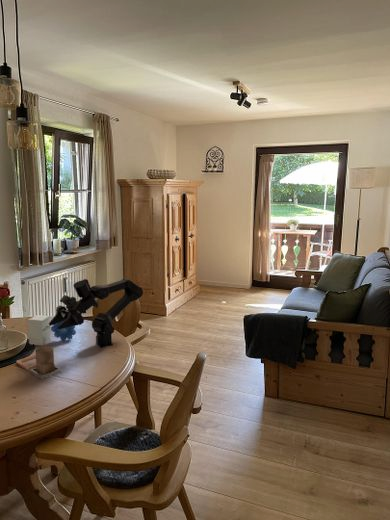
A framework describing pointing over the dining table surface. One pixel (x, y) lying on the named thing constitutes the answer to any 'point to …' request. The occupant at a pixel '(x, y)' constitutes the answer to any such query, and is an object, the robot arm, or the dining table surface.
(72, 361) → the dining table surface
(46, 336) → the supplement box
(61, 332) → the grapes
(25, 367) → the terracotta socket
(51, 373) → the grey metal socket
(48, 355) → the walnut plug block
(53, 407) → the dining table surface
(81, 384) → the dining table surface
